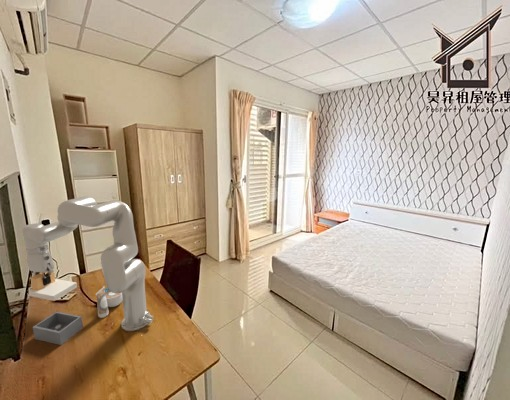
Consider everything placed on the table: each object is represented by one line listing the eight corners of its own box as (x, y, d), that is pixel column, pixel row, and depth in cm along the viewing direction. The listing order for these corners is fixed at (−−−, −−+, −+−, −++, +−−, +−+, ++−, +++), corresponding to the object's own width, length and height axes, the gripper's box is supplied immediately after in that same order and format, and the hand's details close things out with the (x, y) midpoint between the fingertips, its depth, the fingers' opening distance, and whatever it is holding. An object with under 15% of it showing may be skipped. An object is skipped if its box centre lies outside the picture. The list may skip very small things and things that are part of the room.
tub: (83, 327, 106) (81, 316, 105) (61, 345, 96) (59, 333, 95) (58, 322, 109) (56, 311, 107) (34, 339, 99) (32, 327, 98)
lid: (77, 286, 117) (75, 272, 116) (54, 300, 107) (51, 284, 105) (53, 282, 120) (50, 267, 118) (28, 295, 109) (24, 279, 108)
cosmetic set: (108, 320, 111) (104, 286, 107) (89, 320, 111) (84, 285, 107) (134, 289, 135) (131, 260, 131) (118, 289, 135) (115, 260, 131)
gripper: (59, 248, 112) (65, 281, 116) (32, 244, 115) (38, 276, 119) (42, 254, 105) (49, 290, 109) (14, 250, 108) (21, 285, 112)
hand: (43, 282), depth 114 cm, fingers closed on lid, 4 cm apart
